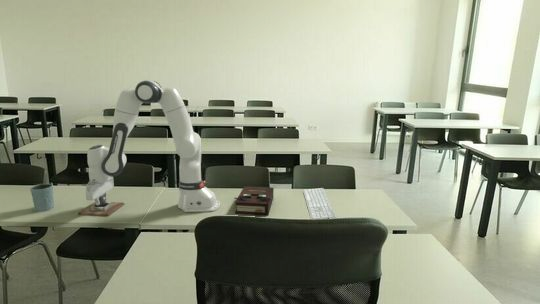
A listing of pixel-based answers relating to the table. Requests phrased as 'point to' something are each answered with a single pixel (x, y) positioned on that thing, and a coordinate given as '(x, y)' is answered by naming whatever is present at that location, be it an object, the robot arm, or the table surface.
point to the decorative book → (254, 201)
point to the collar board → (101, 209)
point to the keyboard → (318, 204)
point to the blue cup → (42, 197)
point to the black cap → (102, 201)
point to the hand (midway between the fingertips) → (101, 202)
